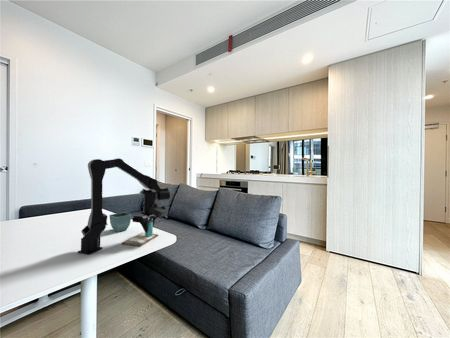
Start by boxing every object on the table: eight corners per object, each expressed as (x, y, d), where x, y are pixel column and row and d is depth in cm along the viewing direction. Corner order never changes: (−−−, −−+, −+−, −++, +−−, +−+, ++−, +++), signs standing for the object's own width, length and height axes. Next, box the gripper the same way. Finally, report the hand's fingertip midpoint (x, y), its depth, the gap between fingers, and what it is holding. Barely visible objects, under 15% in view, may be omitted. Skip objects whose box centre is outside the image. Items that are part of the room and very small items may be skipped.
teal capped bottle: (149, 237, 97) (150, 219, 97) (143, 236, 98) (143, 219, 98) (154, 234, 101) (154, 217, 101) (147, 234, 102) (148, 217, 102)
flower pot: (115, 233, 103) (115, 217, 103) (108, 230, 108) (108, 214, 108) (131, 230, 110) (131, 214, 110) (124, 226, 115) (124, 212, 115)
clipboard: (140, 246, 87) (140, 243, 87) (121, 244, 90) (121, 241, 90) (158, 235, 102) (158, 233, 102) (142, 233, 104) (142, 231, 104)
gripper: (152, 206, 89) (151, 239, 89) (172, 200, 107) (171, 227, 107) (132, 204, 91) (131, 236, 91) (154, 198, 109) (153, 225, 109)
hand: (148, 231), depth 99 cm, fingers closed on teal capped bottle, 4 cm apart
